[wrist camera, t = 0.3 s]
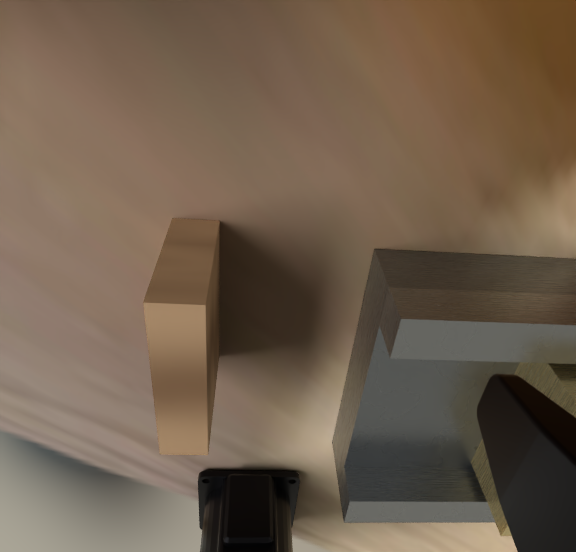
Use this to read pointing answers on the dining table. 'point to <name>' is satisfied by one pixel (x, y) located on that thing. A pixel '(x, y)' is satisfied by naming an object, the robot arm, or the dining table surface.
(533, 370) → the yellow cube
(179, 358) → the wooden block
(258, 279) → the dining table surface
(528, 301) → the slot block
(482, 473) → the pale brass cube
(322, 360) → the dining table surface
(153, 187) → the dining table surface
